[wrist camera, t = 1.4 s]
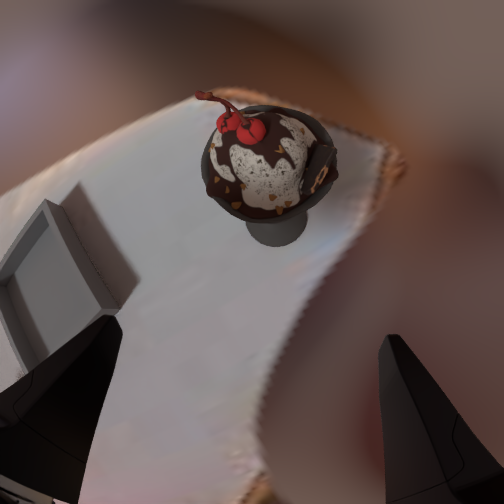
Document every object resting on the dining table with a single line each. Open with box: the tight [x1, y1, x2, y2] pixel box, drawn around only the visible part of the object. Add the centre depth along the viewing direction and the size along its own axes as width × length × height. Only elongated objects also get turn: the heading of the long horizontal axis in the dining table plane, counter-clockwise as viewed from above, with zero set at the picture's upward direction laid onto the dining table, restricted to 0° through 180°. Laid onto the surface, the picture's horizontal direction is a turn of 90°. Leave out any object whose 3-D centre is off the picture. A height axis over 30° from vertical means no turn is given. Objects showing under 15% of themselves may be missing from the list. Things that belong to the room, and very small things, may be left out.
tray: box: [0, 199, 120, 375], centre depth 23 cm, size 14×14×3 cm
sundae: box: [195, 91, 339, 247], centre depth 16 cm, size 7×7×15 cm
